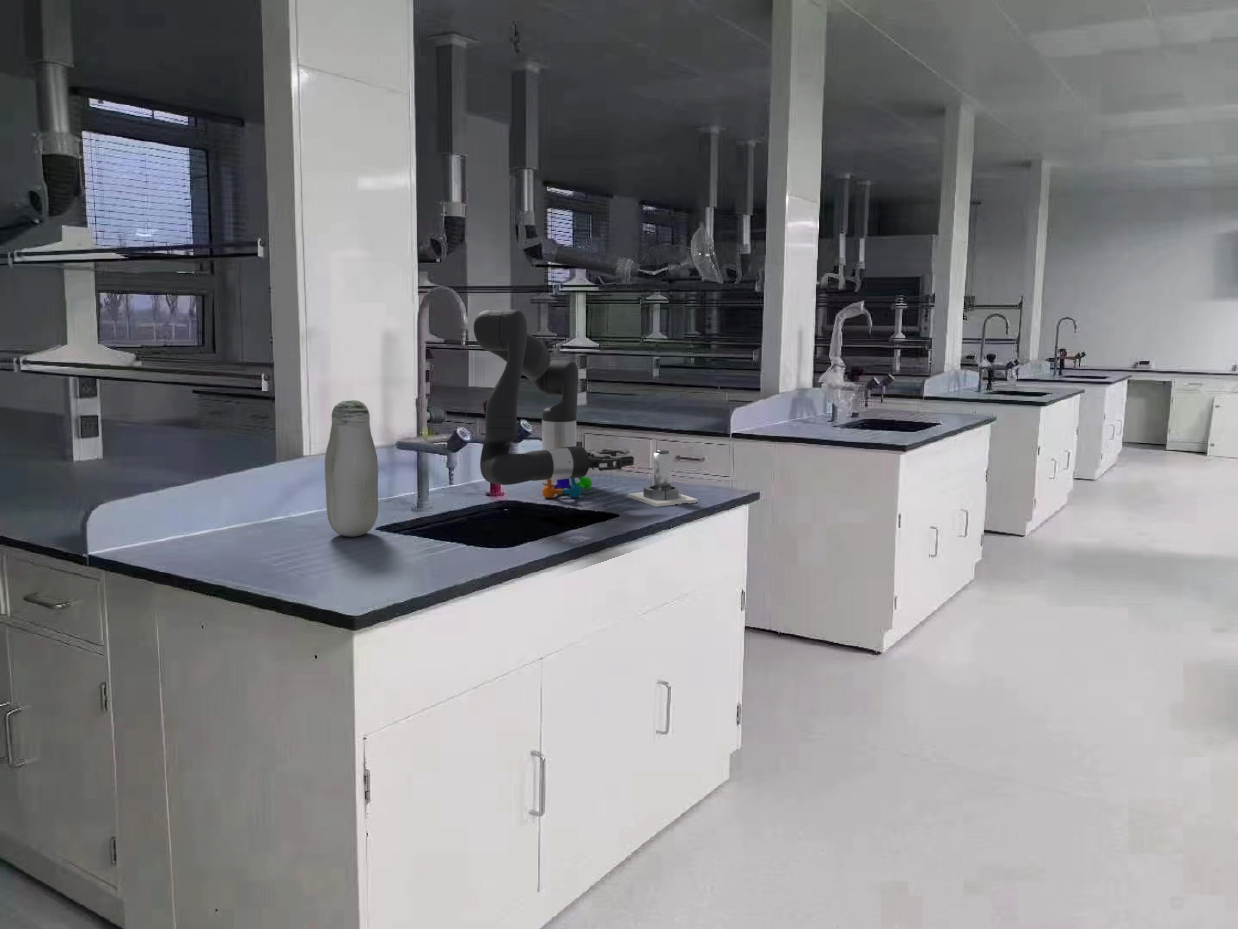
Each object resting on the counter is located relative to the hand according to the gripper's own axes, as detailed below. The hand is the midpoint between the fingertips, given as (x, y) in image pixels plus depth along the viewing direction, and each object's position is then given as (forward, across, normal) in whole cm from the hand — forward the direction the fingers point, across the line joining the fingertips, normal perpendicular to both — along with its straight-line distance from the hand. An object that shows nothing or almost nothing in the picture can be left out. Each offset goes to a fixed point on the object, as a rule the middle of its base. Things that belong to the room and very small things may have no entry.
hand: (624, 457), depth 237 cm
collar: (+10, -1, +11) cm, 15 cm away
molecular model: (-9, +14, +12) cm, 20 cm away
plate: (+10, -1, +11) cm, 15 cm away
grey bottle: (-68, -5, +10) cm, 68 cm away
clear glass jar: (+10, -1, +10) cm, 15 cm away
